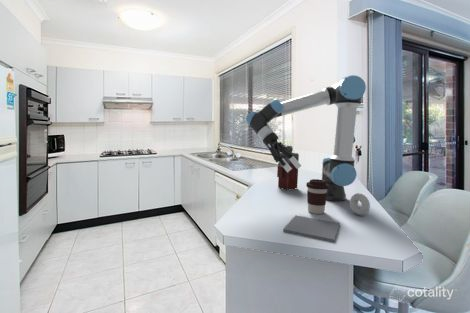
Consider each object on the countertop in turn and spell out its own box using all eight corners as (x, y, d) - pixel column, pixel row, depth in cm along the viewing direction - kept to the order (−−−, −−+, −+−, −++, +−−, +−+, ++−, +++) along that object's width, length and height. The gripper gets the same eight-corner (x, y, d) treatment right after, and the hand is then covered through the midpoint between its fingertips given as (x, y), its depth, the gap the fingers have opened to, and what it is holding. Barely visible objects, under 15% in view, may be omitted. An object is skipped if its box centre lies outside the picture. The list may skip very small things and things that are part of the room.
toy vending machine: (275, 187, 168) (276, 145, 165) (287, 186, 174) (289, 145, 171) (284, 190, 160) (286, 146, 157) (297, 188, 166) (299, 146, 163)
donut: (370, 218, 112) (372, 196, 111) (365, 219, 111) (366, 196, 110) (353, 211, 121) (354, 190, 120) (347, 212, 120) (348, 191, 119)
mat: (295, 217, 111) (295, 215, 111) (339, 225, 103) (339, 223, 103) (283, 231, 95) (283, 229, 95) (334, 242, 87) (334, 239, 87)
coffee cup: (319, 216, 112) (321, 183, 111) (300, 211, 120) (302, 179, 118) (331, 212, 119) (333, 181, 117) (312, 207, 126) (314, 177, 125)
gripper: (273, 141, 142) (297, 170, 135) (251, 142, 121) (279, 177, 114) (282, 131, 138) (308, 161, 132) (261, 131, 117) (291, 166, 111)
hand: (294, 169), depth 123 cm, fingers open, 13 cm apart
